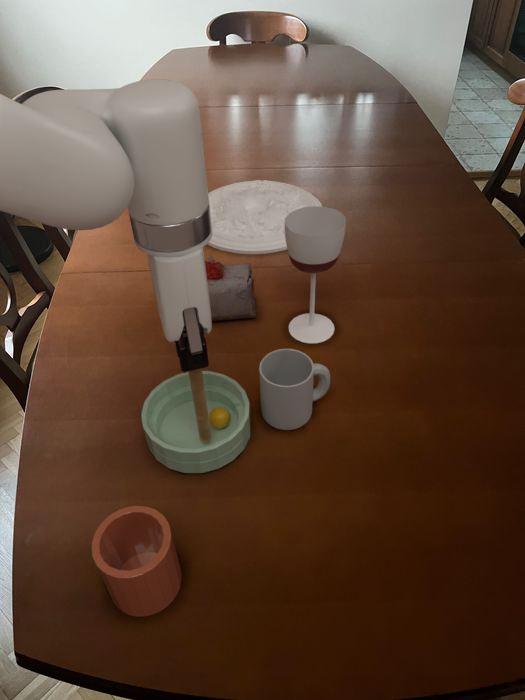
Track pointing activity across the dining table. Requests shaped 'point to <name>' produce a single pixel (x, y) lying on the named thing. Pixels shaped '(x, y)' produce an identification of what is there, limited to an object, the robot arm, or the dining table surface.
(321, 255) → the wineglass
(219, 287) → the food item
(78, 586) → the dining table surface
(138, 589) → the utensil pot
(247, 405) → the bowl
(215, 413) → the ball
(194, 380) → the stirring stick
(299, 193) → the ceiling medallion
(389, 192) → the dining table surface
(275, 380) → the cup
